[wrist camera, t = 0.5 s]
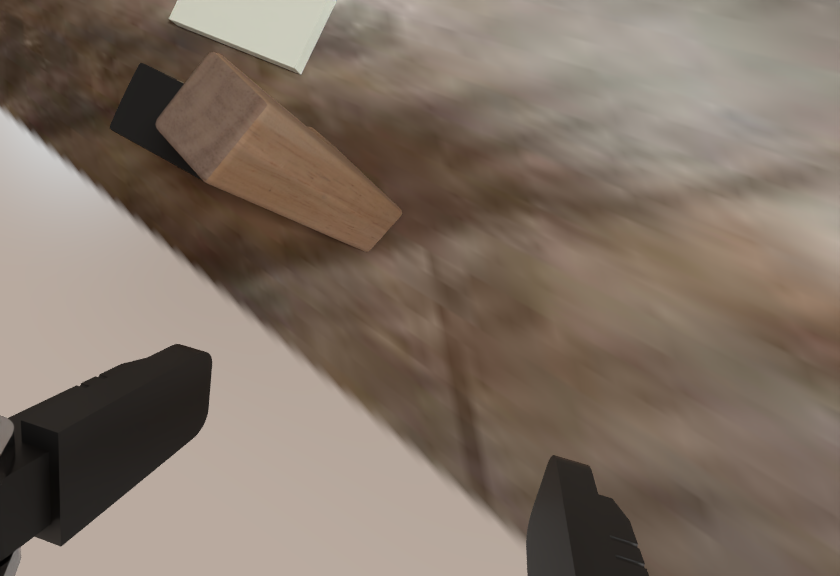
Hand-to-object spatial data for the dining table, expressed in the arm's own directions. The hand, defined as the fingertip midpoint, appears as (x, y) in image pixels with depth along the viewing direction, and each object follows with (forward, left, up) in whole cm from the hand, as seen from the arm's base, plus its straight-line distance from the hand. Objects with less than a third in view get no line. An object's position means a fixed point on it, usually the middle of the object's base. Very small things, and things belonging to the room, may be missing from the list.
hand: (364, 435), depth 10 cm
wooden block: (-6, -16, -24) cm, 29 cm away
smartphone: (-6, -37, -24) cm, 44 cm away
